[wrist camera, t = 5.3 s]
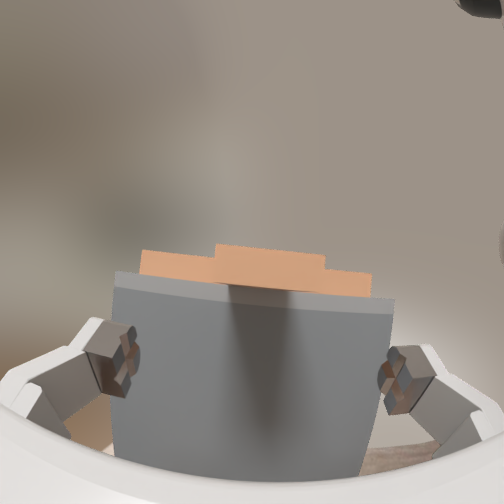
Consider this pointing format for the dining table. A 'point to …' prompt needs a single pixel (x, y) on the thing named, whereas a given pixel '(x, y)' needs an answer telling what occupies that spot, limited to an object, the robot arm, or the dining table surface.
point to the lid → (258, 270)
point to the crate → (249, 379)
